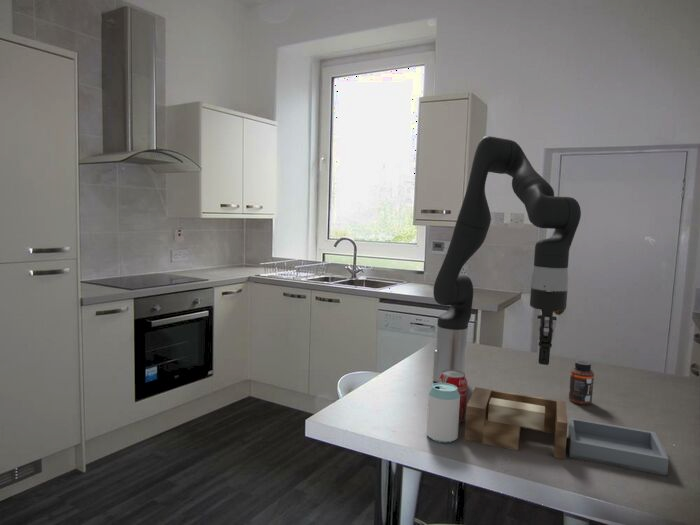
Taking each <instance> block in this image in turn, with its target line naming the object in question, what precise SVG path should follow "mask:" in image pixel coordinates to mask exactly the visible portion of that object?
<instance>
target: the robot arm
mask: <svg viewBox="0 0 700 525" xmlns="http://www.w3.org/2000/svg"><path fill="white" fill-rule="evenodd" d="M489 173H493V174H499V175H508V176H510V177H512V179H511V188H512V190H513V193H514V194H515V196H516V197H517V198H518V199H519V200H520V202H521V203H522V204H523V206H524V207H525V210H526V213H527V218H528V220H529V222H530V224H532V225H533V226H535V227H537V228H539V229H554V231H553V232H552V235H551V237H549V238H545V239H541V240H538V241H537V242H536V243H535V246H534V254H533V255H534V257H533V259H534V260H533V270H532V273H531V279H530V280H531V281H530V282H531V283H530V294H529V295H530V296H529V306H530V307H531V308H533V309H536V310H540V311H541V314H537V319H536V320H537V322H536V324H537V336H536V337H537V338H538V340H539V341H538V353H539V354H538V364H540V365H545V366H549V364H550V356H551V354H550V353H551V348H552V346H553V344H552V340H554V339H555V328H556V327H557V321H558V320H557V319H558V318H557V316H554V312H555V311H556V312H562V311H566V309H567V304H568V303H567V300H568V289H569V287H568V286H569V257H570V250H571V246H572V243H573V241H574V238H575V234H576V232H577V229H578V228H579V223H580V221H581V216H582V211H581V206H580V204H579V202H578V200H576V199H575V198H574V197H570V196H557V195H555V191H554V189H553V187H552V185H550V183H549V182H548V181H547V180H546V179H544V177H542V176H541V175H540V174H539V172H537V171H536V170H535V169H534V167H533V165H532V164H531V162H530V161H529V159H528V158H527V156H526V154H525V152H524V150H523V149H522V147H521V146H520V144H518V143H517V142H516V141H515V140H512V139H508V138H502V137H496V136H490V135H486V136H483V137H482V138H481V139H480V141H479V142H478V144H477V146H476V149H475V152H474V155H473V160H472V164H471V169H470V173H469V178H468V183H467V186H466V191H465V193H464V194H465V195H464V196H463V201H462V204H461V207H460V210H459V213H458V216H457V219H456V222H455V225H454V228H453V233H452V235H451V236H452V237H451V239H450V242H449V246H448V248H447V251H446V254H445V257H444V259H443V261H442V264H441V266H440V268H439V271H438V273H437V276H436V278H435V280H434V286H433V298H434V301H435V302H436V303H437V304H438V305H440V306H450V307H449V309H447V311H445V312H444V313H442V314H440V315H439V316H438V318H437V327H436V328H437V329H436V346H435V347H436V349H435V350H434V354H433V369H432V370H433V373H432V374H433V376H432V382H436V383H439V378H440V376H441V375H442V371H444V370H458V371H461V372H463V373H465V374H466V366H467V365H466V364H467V362H466V361H467V348H468V333H469V332H468V331H469V330H468V329H469V323H470V320H471V317H472V311H473V310H472V309H473V302H474V301H473V300H474V284H473V281H472V280H471V278H470V277H469V276H467V275H465V274H460V272H461V270H462V268H464V266H465V264H466V263H467V262H468V260H470V259H471V257H472V256H473V255H474V254H476V252H477V251H478V250H479V249H480V247H482V245H483V244H484V242H485V240H486V237H487V235H488V231H489V228H490V225H491V222H492V216H491V211H490V207H489V204H488V200H487V196H486V195H487V194H486V183H487V182H486V181H487V177H488V175H489Z"/></svg>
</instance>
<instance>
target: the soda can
mask: <svg viewBox="0 0 700 525" xmlns="http://www.w3.org/2000/svg"><path fill="white" fill-rule="evenodd" d="M439 383H449V384H452V385H455V386H456V387H457V388H458V389H457V391H458V392H459V394H460V406H459V423H458V424H460V423H461V422H463V421H465V420H466V408H467V398H468V380H467V378H466V372H465V373H463V372H461V371H458V370H444V371H442V375H441V376H440V378H439Z"/></svg>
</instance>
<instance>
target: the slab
mask: <svg viewBox="0 0 700 525" xmlns="http://www.w3.org/2000/svg"><path fill="white" fill-rule="evenodd" d="M544 419H545V406H540V405H534V404H528V403H522V402H516V401H510V400H504V399H498V398H491V399H490V402H489V412H488V421H493V422H499V423H504V424H510V425H515V426H521V427H526V428H532V429H537V430H543V431H544Z"/></svg>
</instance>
